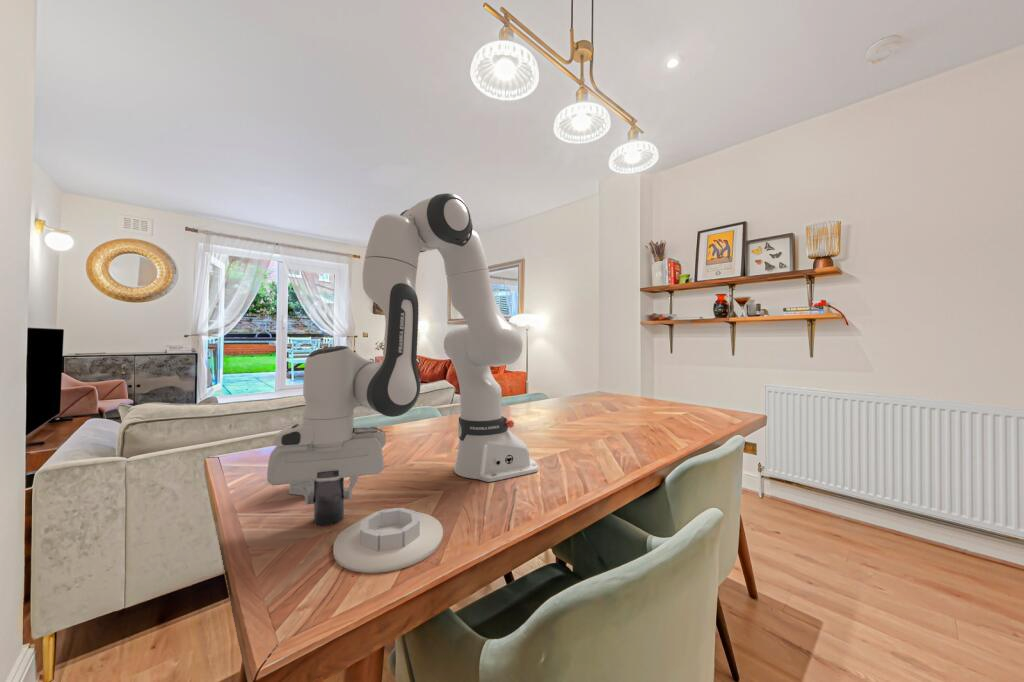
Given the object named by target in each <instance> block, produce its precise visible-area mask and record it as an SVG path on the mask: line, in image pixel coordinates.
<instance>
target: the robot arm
mask: <svg viewBox="0 0 1024 682" xmlns="http://www.w3.org/2000/svg"><path fill="white" fill-rule="evenodd" d="M432 250H433V251H434V250H437V251H438V252H439V253H440V255H441V257H442V259H443V264H444V270H445V275H446V281H447V285H448V291H449V296H450V300H451V305H452V307H453V309H455V310H456V311H457V313H459V314H460V315H461V316H462V317H463V319H464V321H465V323H466V324H464V325H461V326H460V325H459V326H457V327H455V328H453V329H451V330H449V331H448V332H447V334H446V335H445V337H444V340H443V349H444V353H445V354H446V356H447V357H448V358H449V360H450V361H451V362H452V366H453V367H454V370H455V372H456V373H455V374H456V377H457V381H458V385H459V400H460V402H459V403H460V406H459V407H460V409H459V410H460V416H459V417H458V422H457V424H458V425H457V433H458V434H457V435H458V439H459V441H458V443H459V444H458V451H457V457H456V460H455V464H454V467H453V472H454V473H455V474H456V475H458V476H460V477H462V478H468V479H474V480H480V481H483V482H487V483H491V482H495V481H496V482H497V481H501V480H506V479H510V478H514V477H520V476H524V475H528V474H533V473H536V472H537V473H538V471H539V466H538V463H537V462H536V460H535V459H534V458H532V457H530V451H529V448H528V446H527V444H526V442H524V441H523V440H522V439H521V438H520V437H519V436H517V435H516V434H515V433H514V432H512V431H511V430H510V429H511V428H514V426H515V421H514V420H512V419H510V418H507V417H505V416H502V409H503V408H502V405H503V404H502V402H503V400H502V398H503V397H502V396H503V395H502V390H503V389H502V386H501V385H500V383H498V381H496V379H495V378H494V376H493V374H492V371H491V367H494V368H495V367H497V368H498V367H504V366H507V365H512V364H514V363H516V362H517V361H518V359H519V358H521V354H522V351H523V340H522V339H523V338H522V336H521V334H520V332H519V331H518V329H516V328H515V327H514V326H512V325H511V324H510V323H509V322H508V321H507V319H506V318H505V316H504V315H503V313H502V311H501V310H500V308H499V305H498V304H497V302H496V298H495V294H494V290H493V285H492V281H491V276H490V269H489V265H488V260H487V257H486V253H485V250H484V247H483V244H482V241H481V238H480V236H479V234H478V233H477V232H476V231H474V230H473V222H472V215H471V213H470V210H469V208H468V206H467V204H466V203H465V201H464V200H463V199H462V197H460V196H459V195H457V194H455V193H439V194H436V195H434V196H432V197H429V198H426V199H423V200H421V201H419V202H417V203H416V204H415V205H413V206H412V207H410V208H408V209H405V210H404V211H402V212H401V213H400V214H396V213H389V214H384V215H382V216H379V218H377V220H376V221H375V223H374V226H373V228H372V230H371V233H370V237H369V239H368V244H367V247H366V251H365V254H364V255H365V256H364V261H363V268H362V288H363V290H364V294H366V295H367V296H368V298H369V299H370V300H371V301H373V302H374V303H375V304H376V305H378V307H380V309H381V310H382V312H383V314H384V320H385V328H384V329H385V330H384V340H383V341H384V344H383V345H384V346H383V356H382V360H381V361H376V360H373V359H370V358H366V357H364V356H362V355H361V354H359V353H357V352H355V351H353V350H352V349H351V348H350V347H348V346H345V345H335V346H328V347H323V348H318V349H316V350H314V351H312V352H310V353H309V354H308V356H307V357H306V360H305V364H304V369H303V370H304V371H303V380H302V381H303V386H302V388H303V389H302V390H303V391H302V394H303V398H304V401H305V407H304V411H303V415H302V417H303V419H302V422H298V423H296V424H292V425H290V426H286V427H285V428H282V429H281V430H280V431H279V432H278V433H277V434H276V435H275V437H274V445H275V447H274V448H273V450H272V451H271V452H270V455H269V459H268V463H267V473H266V474H267V475H266V481H267V482H268V483H269V484H270V485H271V486H273V487H275V486H281V485H290V484H292V483H298V488H299V490H300V491H301V492H302V494H303V495H302V496H303V497H304V504H305V505H307V506H308V505H314V492H310V490H309V489H308V487H307V485H308V483H309V482H310V481H316V478H317V473H318V472H327V471H337V470H339V475H340V478H344V479H345V478H349V482H350V483H349V485H348V487H344V491H343V495H344V496H343V500H344V501H345V500H352V499H353V498H352V497H353V492H352V491H353V490H354V488H355V487H356V484H357V482H358V478H359V477H362V476H363V477H364V476H371V475H373V476H374V475H379V474H381V473H382V472H383V470H384V467H385V464H384V461H385V460H384V452H383V448H384V447H385V445H386V433H385V431H384V430H383V429H382V428H378V426H370V427H355V425H354V419H355V416H354V414H355V413H354V412H355V409H356V408H357V407H364V408H367V409H371V410H373V411H375V412H377V413H379V414H381V415H383V416H385V417H389V418H390V417H391V418H392V417H395V418H396V417H400V416H402V415H404V414H406V413H407V412H409V411H410V410H411V409H413V407H414V405H416V403H417V402H418V400H419V397H420V392H421V379H420V375H419V371H418V363H417V361H418V360H417V357H418V335H419V331H418V330H419V299H418V295H417V292H416V290H417V289H416V286H417V285H416V284H417V275H418V274H417V273H418V265H419V256H420V254H421V253H424V252H426V251H427V252H428V251H432ZM509 428H510V429H509Z"/></svg>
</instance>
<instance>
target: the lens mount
mask: <svg viewBox="0 0 1024 682" xmlns="http://www.w3.org/2000/svg"><path fill="white" fill-rule="evenodd" d="M443 537H444V529H443V525H442V523H441V522H440V521H439V520H438V519H437V518H435V517H434V516H432V515H430V514H426V513H424V512H419V511H417V510H413V509H410V508H409V509H408V508H405V507H401V508H400V507H393V508H387V509H381V510H377V511H375V512H373V513H371V514H369V515H368V516H366V517H364V518H362V519H360V520H358V521H355V522H354V523H352V524H350V525H349V526H347V527H346V528H344V529H343V530H342V531H341V532H340V533H339V534H338V535H337V536H336V538H335V539H334V543H333V548H332V549H333V552H332V553H333V558H334V560H335V562H336V563H337V564H338V565H339V566H340V567H342V568H344V569H346V570H348V571H352V572H357V573H363V574H380V573H387V572H394V571H398V570H402V569H405V568H408V567H411V566H413V565H416V564H418V563H420V562H423V560H426V559H427V558H428V557H430V556H431V555H433V553H435V552H436V551H437V550H438V548H439V547H440V545H442V542H443Z"/></svg>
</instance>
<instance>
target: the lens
mask: <svg viewBox="0 0 1024 682" xmlns="http://www.w3.org/2000/svg"><path fill="white" fill-rule="evenodd" d="M344 480H345V478H340V475H339V470H337V471H327V472H318V473H317V478H316V481H314V504H313V524H314V523H315V524H316V525H315V524H314V525H315V526H318V525H321V526H320V527H325V526H324V525H329V526H332V525H331V524H333V525H336V524H338V523H340V522H342V521H343V520H344V517H345V514H344V512H345V511H344V510H345V500H343V496H344V495H343V491H344V488H345V487H344V486H345V485H344V484H345V482H344ZM339 521H340V522H339ZM337 522H338V523H337ZM335 523H336V524H335Z"/></svg>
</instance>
